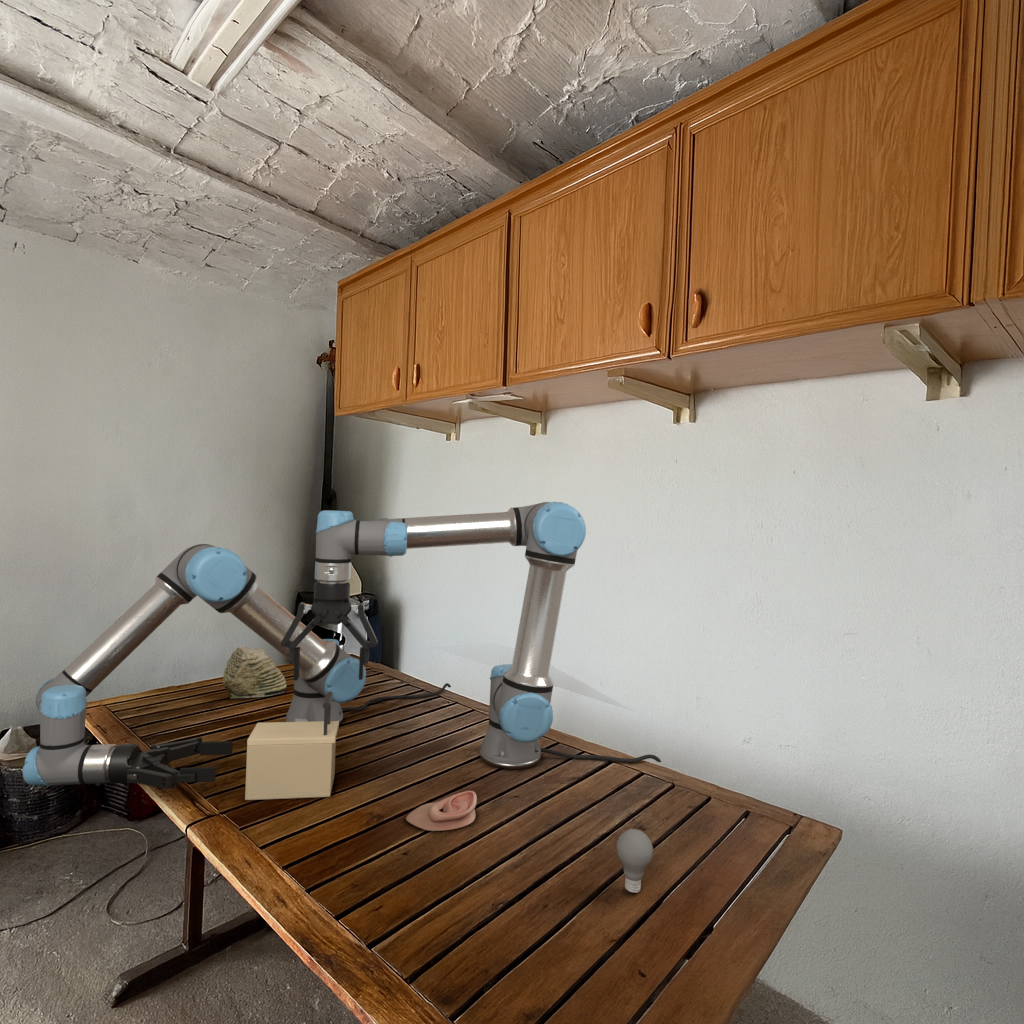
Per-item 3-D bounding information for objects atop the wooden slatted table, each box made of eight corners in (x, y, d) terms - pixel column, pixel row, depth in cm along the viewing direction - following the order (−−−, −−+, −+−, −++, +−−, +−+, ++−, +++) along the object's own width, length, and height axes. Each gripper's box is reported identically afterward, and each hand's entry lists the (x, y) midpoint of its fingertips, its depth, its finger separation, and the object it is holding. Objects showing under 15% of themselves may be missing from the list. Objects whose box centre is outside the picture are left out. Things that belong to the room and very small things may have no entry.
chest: (334, 776, 144) (336, 726, 144) (330, 796, 134) (332, 743, 134) (255, 778, 141) (257, 728, 141) (244, 800, 131) (247, 745, 131)
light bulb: (610, 879, 108) (613, 822, 108) (644, 879, 109) (647, 822, 109) (619, 902, 102) (622, 840, 102) (655, 901, 103) (658, 840, 103)
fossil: (218, 695, 195) (220, 647, 195) (278, 685, 208) (279, 640, 207) (228, 703, 189) (230, 653, 188) (289, 692, 201) (290, 645, 201)
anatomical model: (400, 806, 123) (421, 781, 134) (399, 826, 123) (420, 799, 134) (466, 816, 120) (481, 789, 131) (465, 836, 120) (481, 808, 131)
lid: (338, 726, 144) (340, 689, 144) (334, 743, 134) (336, 704, 134) (257, 727, 141) (258, 690, 140) (247, 745, 131) (248, 705, 130)
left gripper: (137, 757, 143) (237, 754, 147) (84, 811, 118) (205, 806, 122) (139, 724, 143) (238, 722, 146) (85, 771, 118) (207, 767, 122)
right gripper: (268, 582, 132) (265, 683, 132) (390, 584, 136) (386, 682, 137) (275, 577, 139) (272, 673, 140) (390, 580, 144) (387, 673, 144)
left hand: (224, 760), depth 134 cm, fingers open, 13 cm apart
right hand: (328, 678), depth 138 cm, fingers open, 13 cm apart
